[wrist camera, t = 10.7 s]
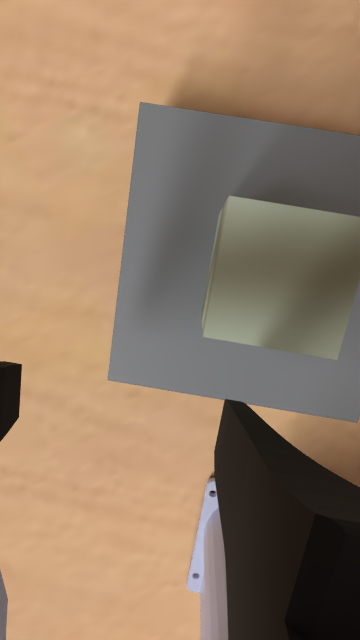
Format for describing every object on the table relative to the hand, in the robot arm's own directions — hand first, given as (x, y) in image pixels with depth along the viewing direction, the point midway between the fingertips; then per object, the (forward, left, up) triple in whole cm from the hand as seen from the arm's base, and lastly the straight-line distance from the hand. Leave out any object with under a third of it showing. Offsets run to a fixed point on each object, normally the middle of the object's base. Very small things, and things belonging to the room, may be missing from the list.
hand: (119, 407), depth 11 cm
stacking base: (+5, -5, -9) cm, 12 cm away
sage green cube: (+5, -5, -6) cm, 10 cm away
